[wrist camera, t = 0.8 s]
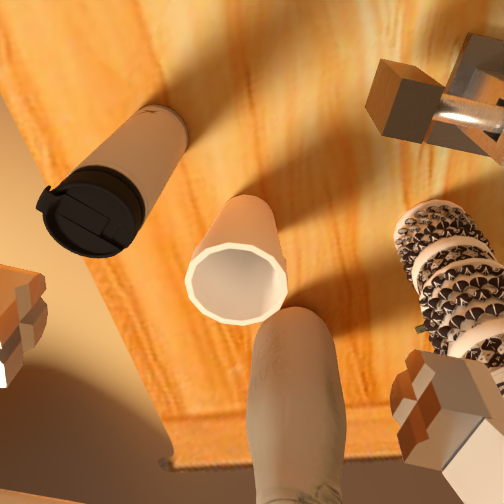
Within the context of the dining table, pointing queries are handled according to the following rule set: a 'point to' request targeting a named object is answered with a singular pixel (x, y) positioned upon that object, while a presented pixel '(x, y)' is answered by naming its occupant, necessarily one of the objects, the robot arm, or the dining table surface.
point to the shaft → (422, 104)
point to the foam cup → (239, 265)
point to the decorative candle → (455, 282)
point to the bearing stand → (474, 97)
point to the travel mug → (116, 185)
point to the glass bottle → (296, 411)
